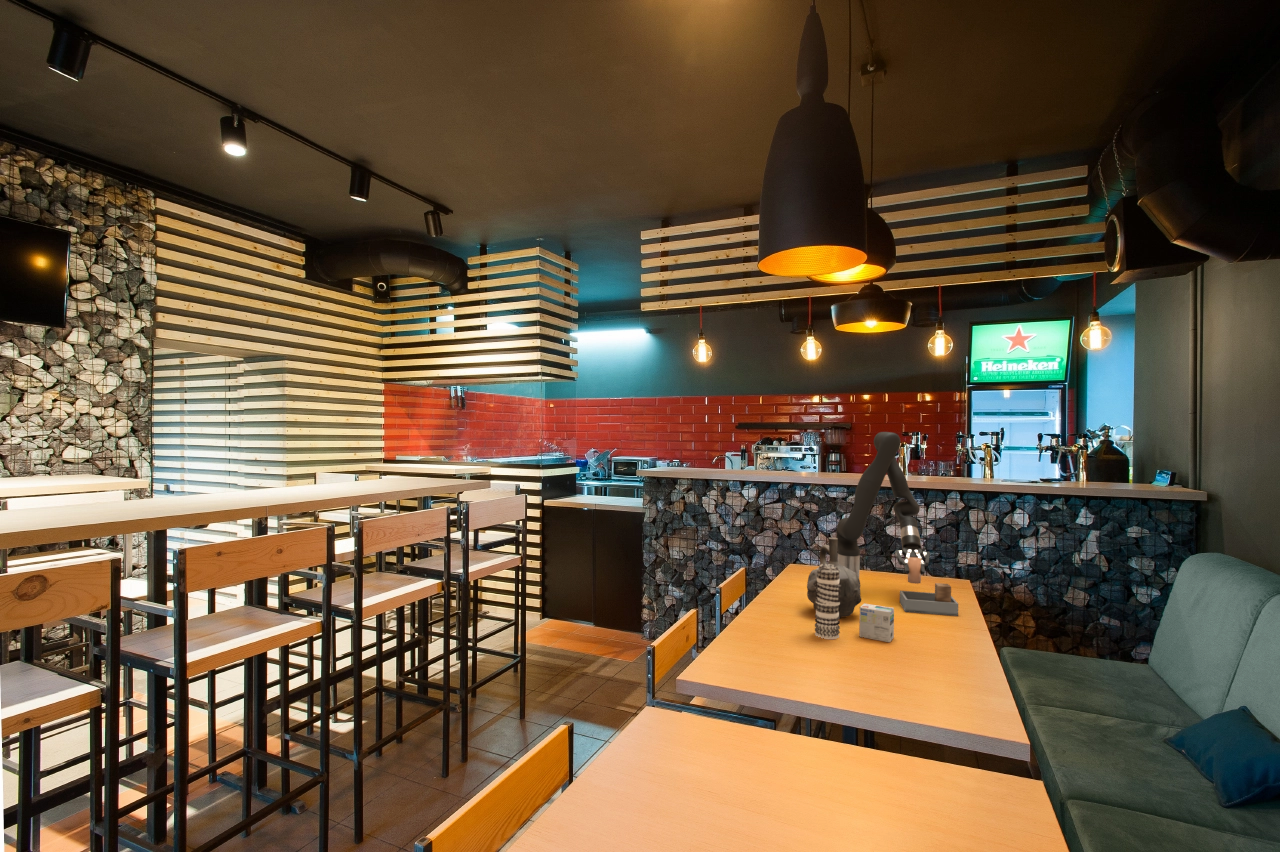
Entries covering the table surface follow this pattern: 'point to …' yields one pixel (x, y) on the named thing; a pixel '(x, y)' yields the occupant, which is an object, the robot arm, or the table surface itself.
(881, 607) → the light bulb box
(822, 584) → the black white tall cylinder
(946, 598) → the walnut block
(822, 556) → the vessel
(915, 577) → the terracotta cylinder
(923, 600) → the tote
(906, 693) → the table surface
